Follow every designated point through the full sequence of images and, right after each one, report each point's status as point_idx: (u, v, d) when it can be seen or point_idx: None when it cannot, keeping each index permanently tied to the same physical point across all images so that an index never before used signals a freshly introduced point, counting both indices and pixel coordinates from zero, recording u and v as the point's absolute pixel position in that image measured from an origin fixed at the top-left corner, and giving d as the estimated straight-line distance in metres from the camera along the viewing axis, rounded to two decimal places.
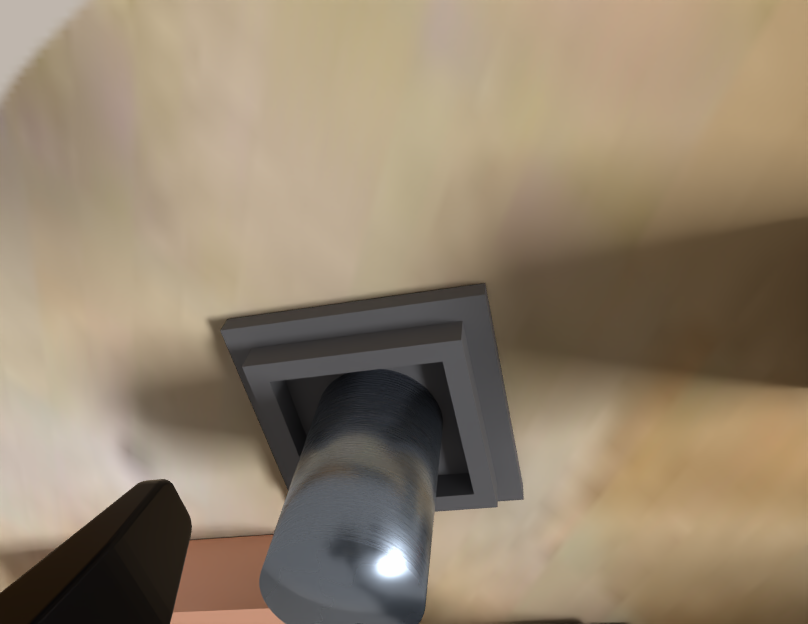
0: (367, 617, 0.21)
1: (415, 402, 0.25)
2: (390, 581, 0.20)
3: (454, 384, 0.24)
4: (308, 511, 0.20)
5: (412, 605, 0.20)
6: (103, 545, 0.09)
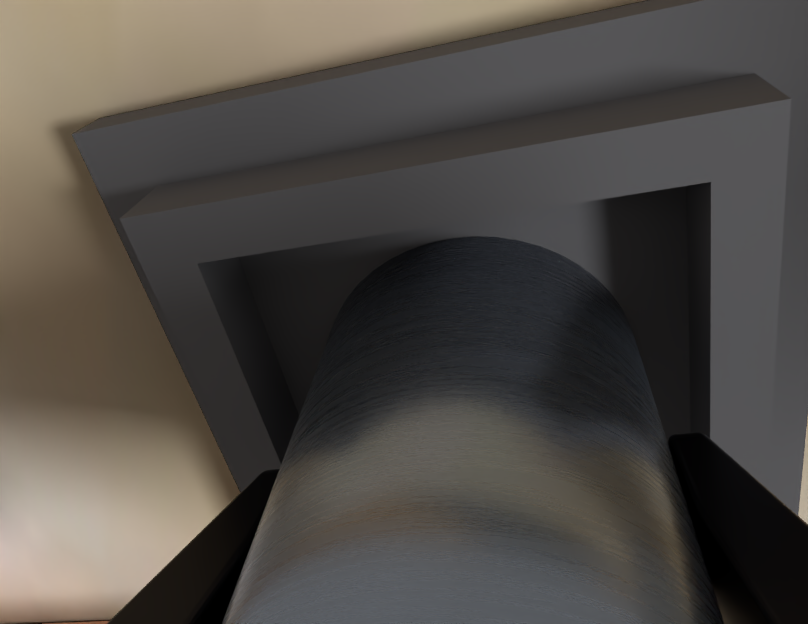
0: None
1: (603, 318, 0.09)
2: None
3: (730, 259, 0.08)
4: None
5: None
6: (245, 535, 0.08)
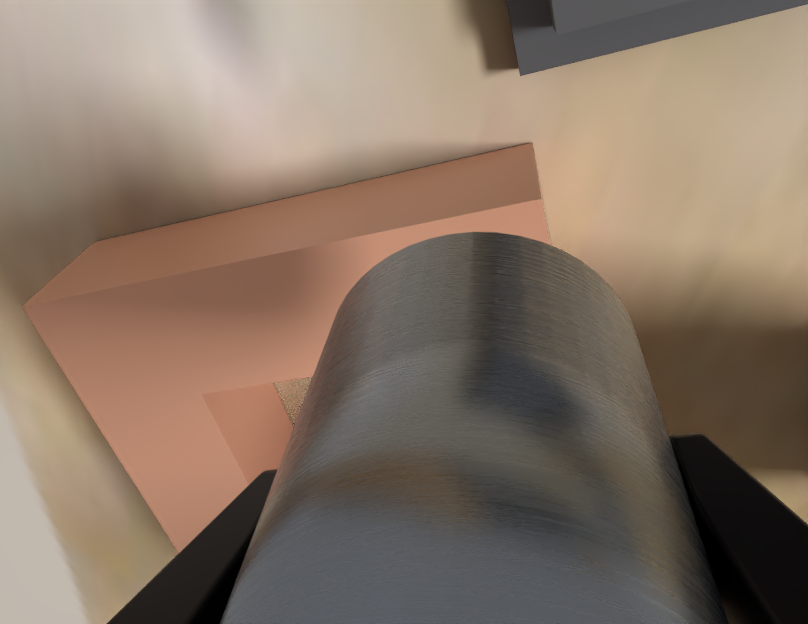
0: None
1: (604, 314, 0.09)
2: None
3: None
4: None
5: None
6: (245, 535, 0.08)
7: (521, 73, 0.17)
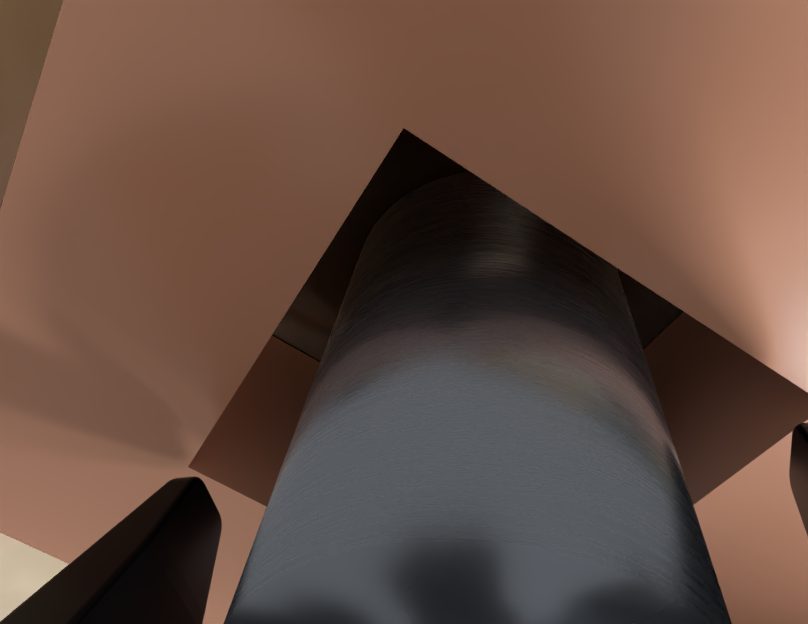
0: None
1: None
2: None
3: None
4: (369, 452, 0.06)
5: None
6: (139, 542, 0.08)
7: None
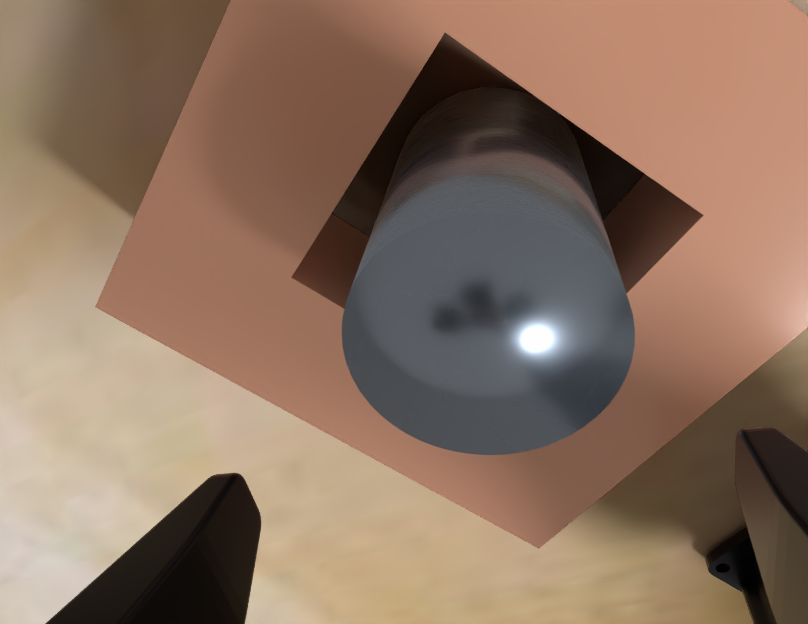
0: (523, 393, 0.12)
1: (558, 124, 0.16)
2: (579, 307, 0.11)
3: None
4: (429, 197, 0.12)
5: (609, 361, 0.12)
6: (185, 539, 0.08)
7: None
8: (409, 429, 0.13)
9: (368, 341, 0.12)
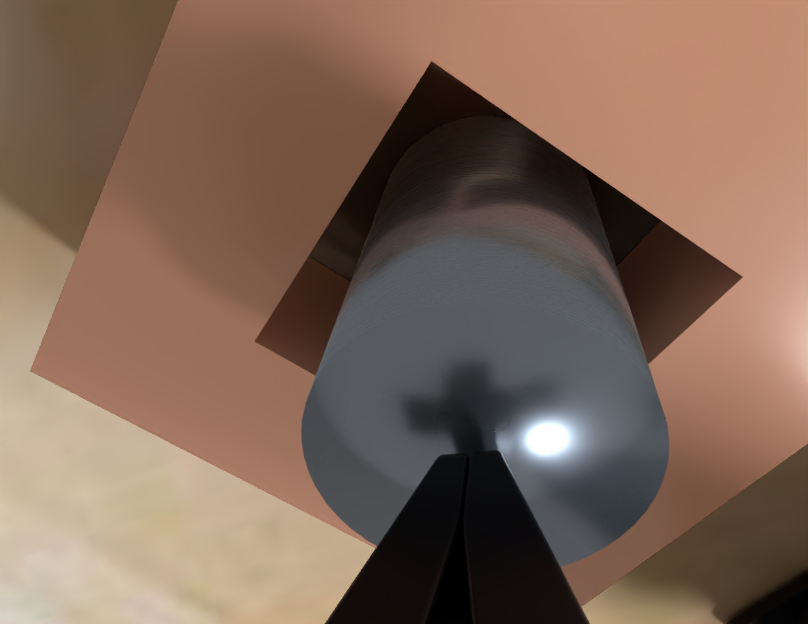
0: None
1: (566, 160, 0.14)
2: (599, 416, 0.09)
3: None
4: (410, 272, 0.09)
5: (634, 477, 0.09)
6: (450, 522, 0.08)
7: None
8: None
9: (334, 448, 0.10)
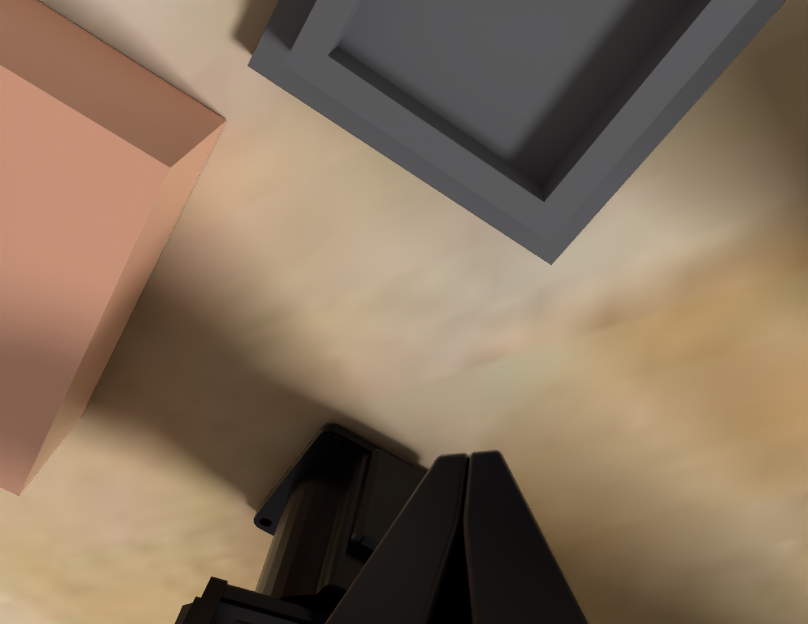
0: None
1: None
2: None
3: (710, 17, 0.15)
4: None
5: None
6: (450, 522, 0.08)
7: (249, 64, 0.18)
8: None
9: None
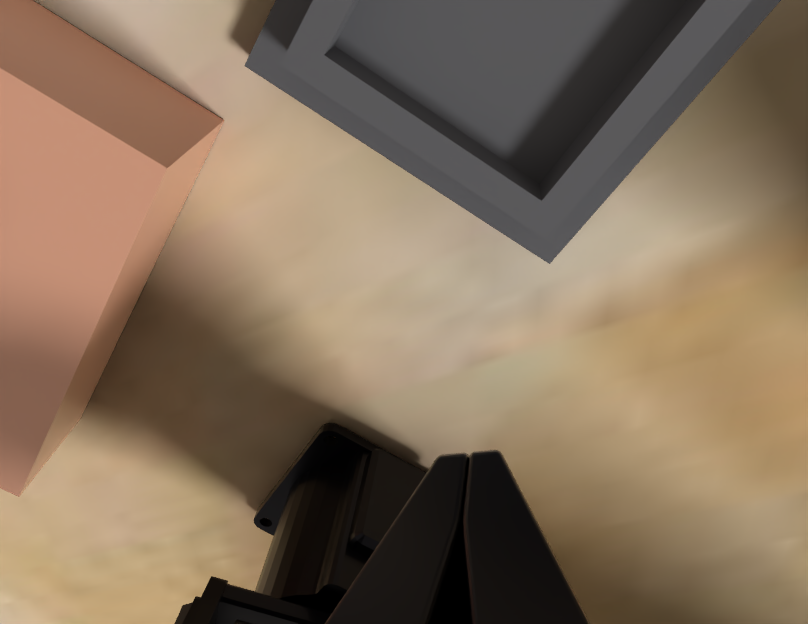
0: None
1: None
2: None
3: (706, 14, 0.15)
4: None
5: None
6: (449, 522, 0.08)
7: (246, 65, 0.18)
8: None
9: None
